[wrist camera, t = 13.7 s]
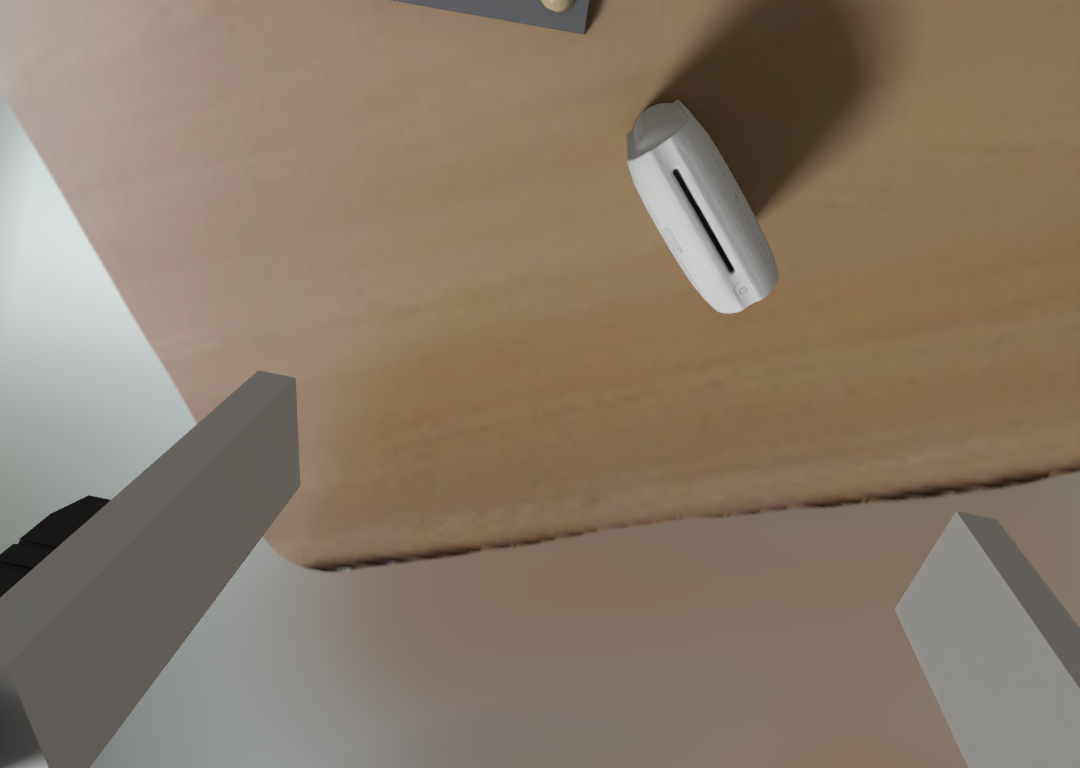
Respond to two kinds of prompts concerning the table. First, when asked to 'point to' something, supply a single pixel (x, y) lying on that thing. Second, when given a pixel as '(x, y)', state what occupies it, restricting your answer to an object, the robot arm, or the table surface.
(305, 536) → the table surface
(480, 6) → the plate
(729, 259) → the photo printer
